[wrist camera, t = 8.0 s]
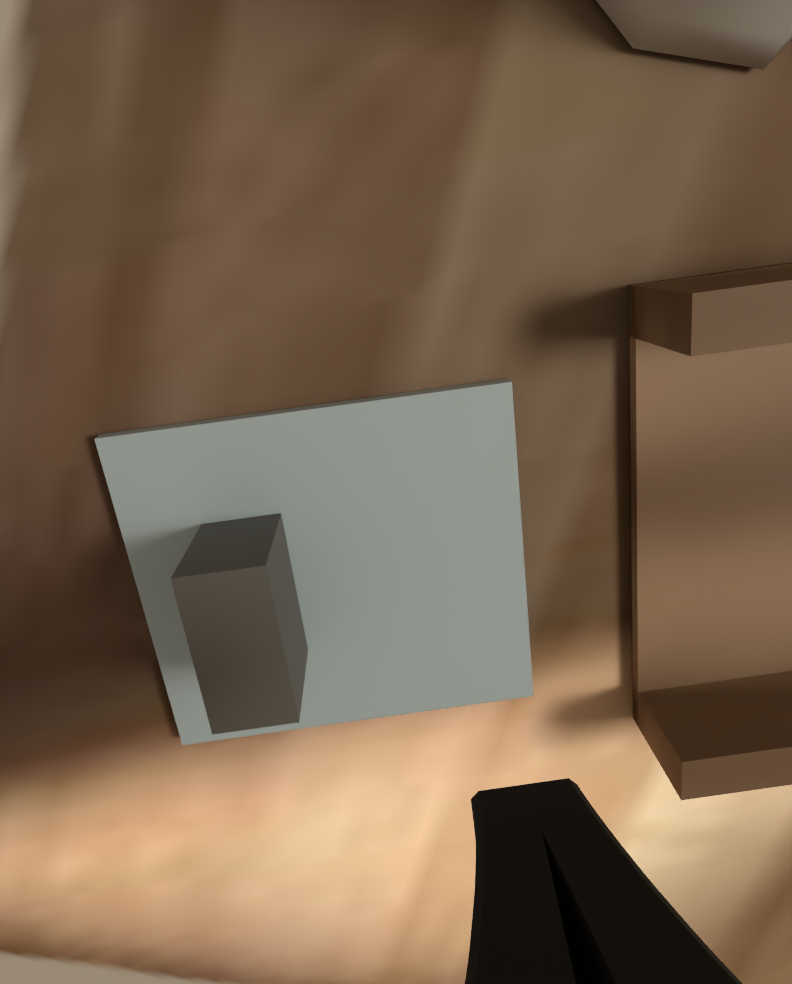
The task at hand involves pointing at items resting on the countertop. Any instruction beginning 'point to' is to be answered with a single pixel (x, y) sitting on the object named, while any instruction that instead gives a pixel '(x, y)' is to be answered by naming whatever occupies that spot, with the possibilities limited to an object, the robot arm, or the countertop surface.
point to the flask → (706, 28)
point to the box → (713, 527)
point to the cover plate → (329, 559)
